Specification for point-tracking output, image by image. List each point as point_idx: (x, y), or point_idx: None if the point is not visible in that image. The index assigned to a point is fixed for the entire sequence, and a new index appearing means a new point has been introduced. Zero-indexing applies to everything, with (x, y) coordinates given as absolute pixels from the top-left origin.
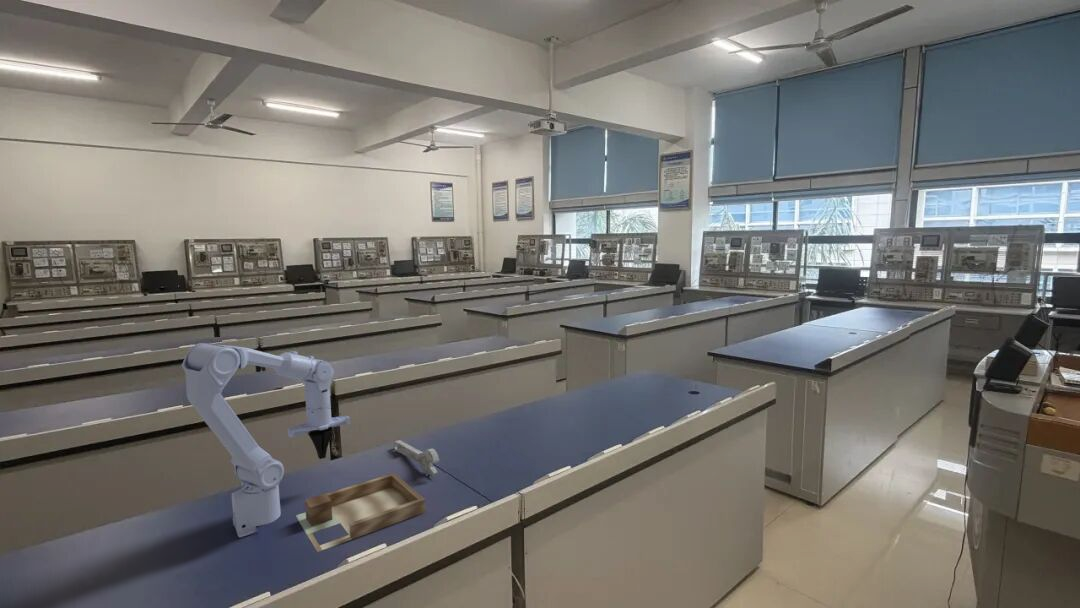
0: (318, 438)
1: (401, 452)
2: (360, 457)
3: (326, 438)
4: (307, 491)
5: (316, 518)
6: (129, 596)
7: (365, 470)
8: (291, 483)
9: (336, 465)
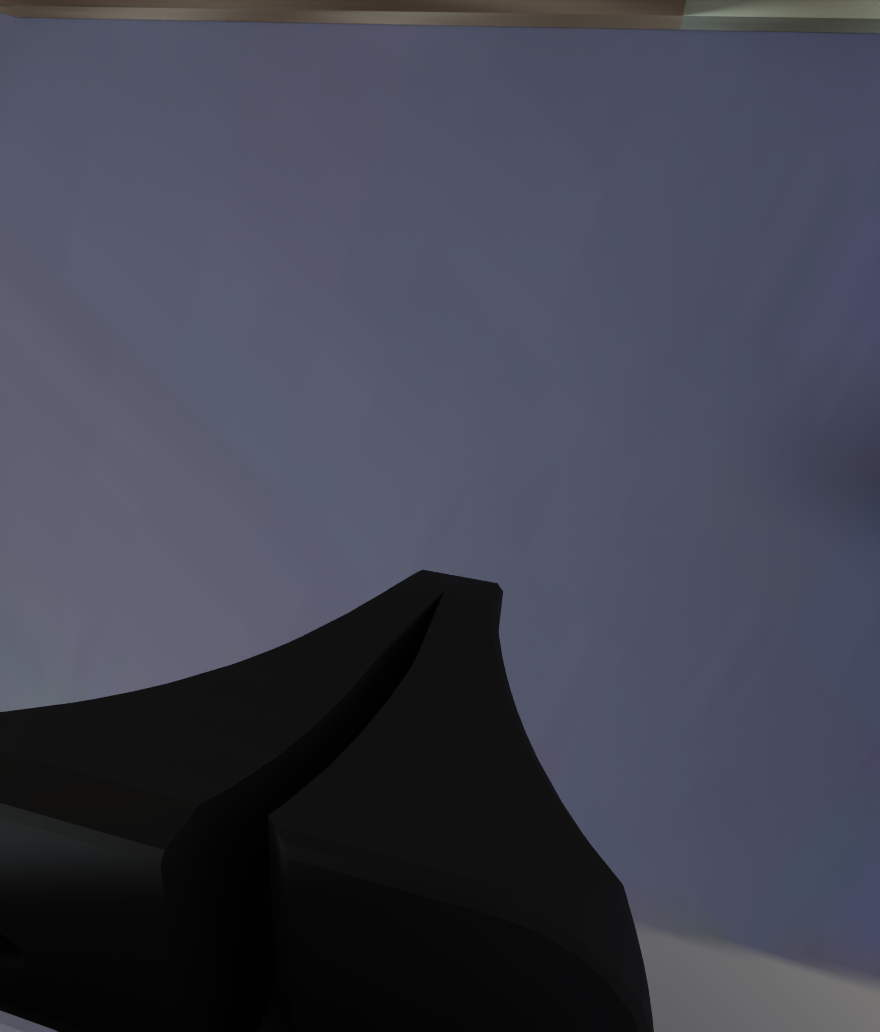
0: (428, 818)
1: None
2: None
3: (216, 724)
4: (633, 574)
5: None
6: None
7: (148, 554)
8: (660, 792)
9: None
